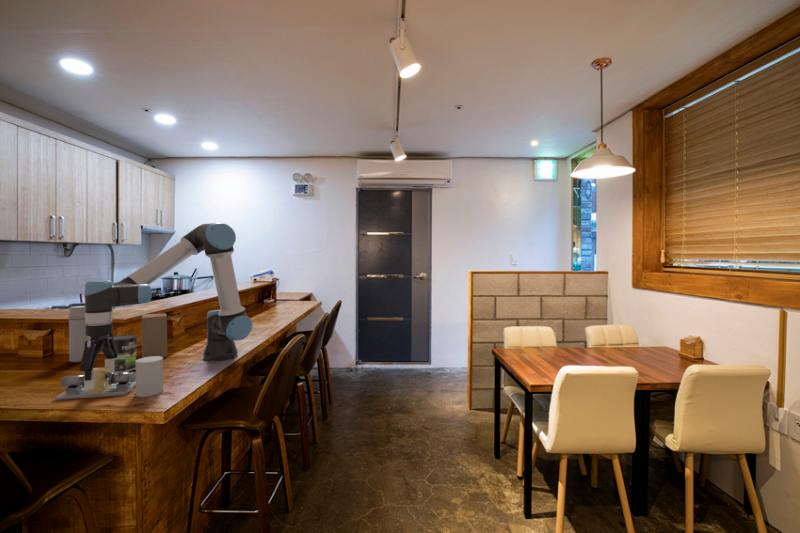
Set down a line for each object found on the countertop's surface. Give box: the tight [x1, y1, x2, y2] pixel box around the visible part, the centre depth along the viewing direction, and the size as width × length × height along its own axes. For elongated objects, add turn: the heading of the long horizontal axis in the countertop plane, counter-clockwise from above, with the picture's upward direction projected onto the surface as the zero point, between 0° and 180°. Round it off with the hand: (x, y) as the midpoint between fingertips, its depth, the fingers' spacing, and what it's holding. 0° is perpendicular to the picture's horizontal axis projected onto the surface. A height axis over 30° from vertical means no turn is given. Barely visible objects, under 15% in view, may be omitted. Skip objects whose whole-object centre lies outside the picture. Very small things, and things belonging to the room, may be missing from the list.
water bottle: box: [67, 305, 91, 364], centre depth 167 cm, size 9×8×25 cm
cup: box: [135, 356, 164, 398], centre depth 130 cm, size 8×8×12 cm
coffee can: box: [106, 334, 138, 373], centre depth 155 cm, size 10×10×14 cm
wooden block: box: [141, 312, 168, 358], centre depth 176 cm, size 10×10×20 cm
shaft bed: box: [55, 371, 136, 401], centre depth 130 cm, size 21×11×7 cm, turn 105°
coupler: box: [88, 366, 110, 391], centre depth 130 cm, size 5×4×7 cm
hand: (100, 382), depth 130 cm, fingers open, 13 cm apart
